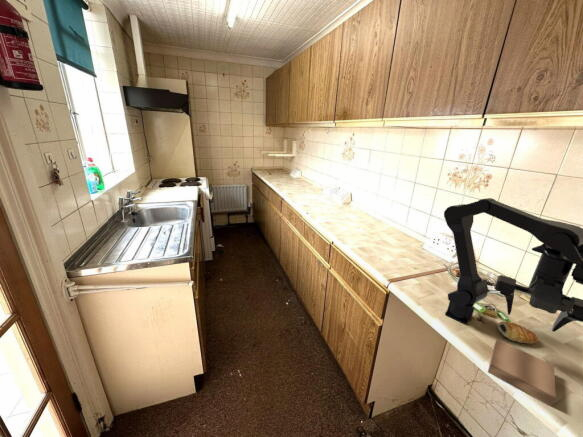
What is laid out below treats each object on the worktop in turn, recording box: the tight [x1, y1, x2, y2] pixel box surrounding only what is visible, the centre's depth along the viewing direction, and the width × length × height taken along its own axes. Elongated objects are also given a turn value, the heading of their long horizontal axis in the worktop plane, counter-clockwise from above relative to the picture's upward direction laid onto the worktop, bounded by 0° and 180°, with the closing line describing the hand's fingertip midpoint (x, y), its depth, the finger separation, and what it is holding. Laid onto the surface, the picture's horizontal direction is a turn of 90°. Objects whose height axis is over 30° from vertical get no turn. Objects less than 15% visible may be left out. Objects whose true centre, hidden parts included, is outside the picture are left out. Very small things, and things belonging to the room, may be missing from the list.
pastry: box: [497, 320, 539, 345], centre depth 77 cm, size 9×7×4 cm
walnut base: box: [487, 338, 557, 407], centre depth 65 cm, size 12×12×3 cm
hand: (529, 322), depth 68 cm, fingers open, 9 cm apart
